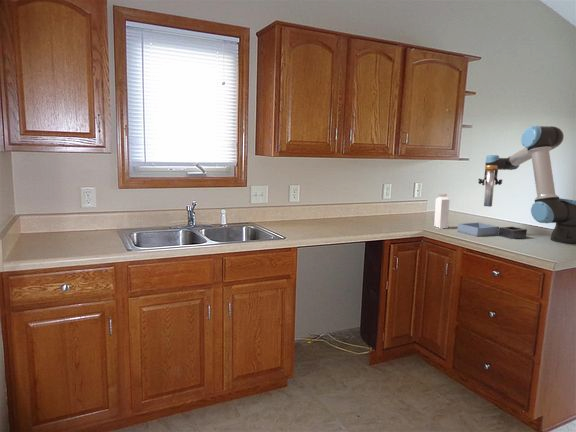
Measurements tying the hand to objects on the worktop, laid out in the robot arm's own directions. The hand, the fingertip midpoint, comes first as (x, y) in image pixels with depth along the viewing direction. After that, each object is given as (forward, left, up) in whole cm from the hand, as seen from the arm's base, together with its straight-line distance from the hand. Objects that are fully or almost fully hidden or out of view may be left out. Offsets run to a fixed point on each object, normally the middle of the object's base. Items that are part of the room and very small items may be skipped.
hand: (489, 183), depth 244 cm
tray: (+6, 0, -31) cm, 32 cm away
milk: (+28, +9, -31) cm, 43 cm away
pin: (+4, -4, -14) cm, 15 cm away
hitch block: (-9, -11, -31) cm, 34 cm away
